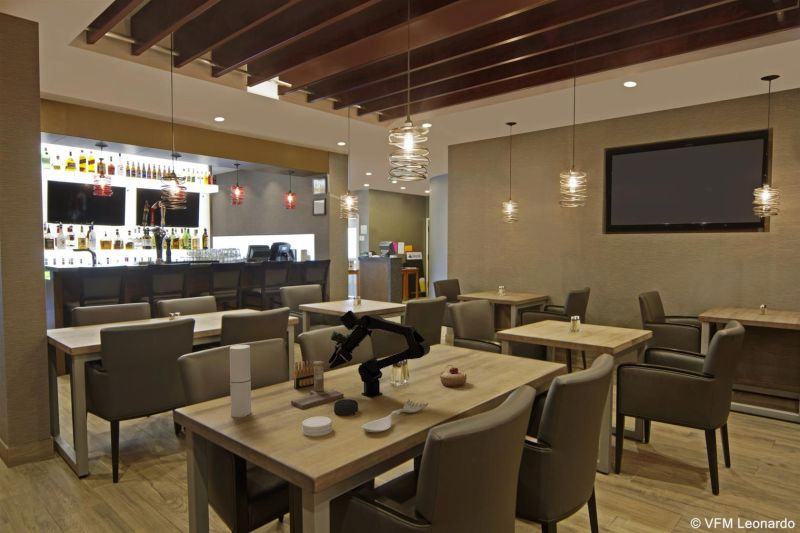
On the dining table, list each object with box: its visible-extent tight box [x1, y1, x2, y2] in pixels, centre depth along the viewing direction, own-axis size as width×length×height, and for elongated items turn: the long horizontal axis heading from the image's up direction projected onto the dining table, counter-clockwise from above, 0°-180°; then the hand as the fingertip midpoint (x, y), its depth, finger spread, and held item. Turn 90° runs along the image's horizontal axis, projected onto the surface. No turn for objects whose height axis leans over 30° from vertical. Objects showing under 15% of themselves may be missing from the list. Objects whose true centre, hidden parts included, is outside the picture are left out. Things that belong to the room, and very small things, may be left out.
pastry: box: [439, 364, 468, 388], centre depth 213 cm, size 12×12×9 cm
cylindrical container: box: [229, 344, 252, 418], centre depth 176 cm, size 7×7×25 cm
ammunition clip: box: [293, 358, 316, 390], centre depth 210 cm, size 11×2×12 cm, turn 129°
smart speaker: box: [333, 398, 359, 417], centre depth 177 cm, size 9×9×4 cm
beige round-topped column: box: [309, 360, 329, 396], centre depth 198 cm, size 5×6×14 cm
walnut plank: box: [290, 389, 345, 410], centre depth 190 cm, size 8×20×2 cm, turn 135°
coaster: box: [301, 416, 333, 437], centre depth 160 cm, size 10×10×4 cm
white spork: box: [361, 398, 429, 433], centre depth 169 cm, size 9×32×4 cm, turn 145°
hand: (329, 365), depth 198 cm, fingers open, 9 cm apart
